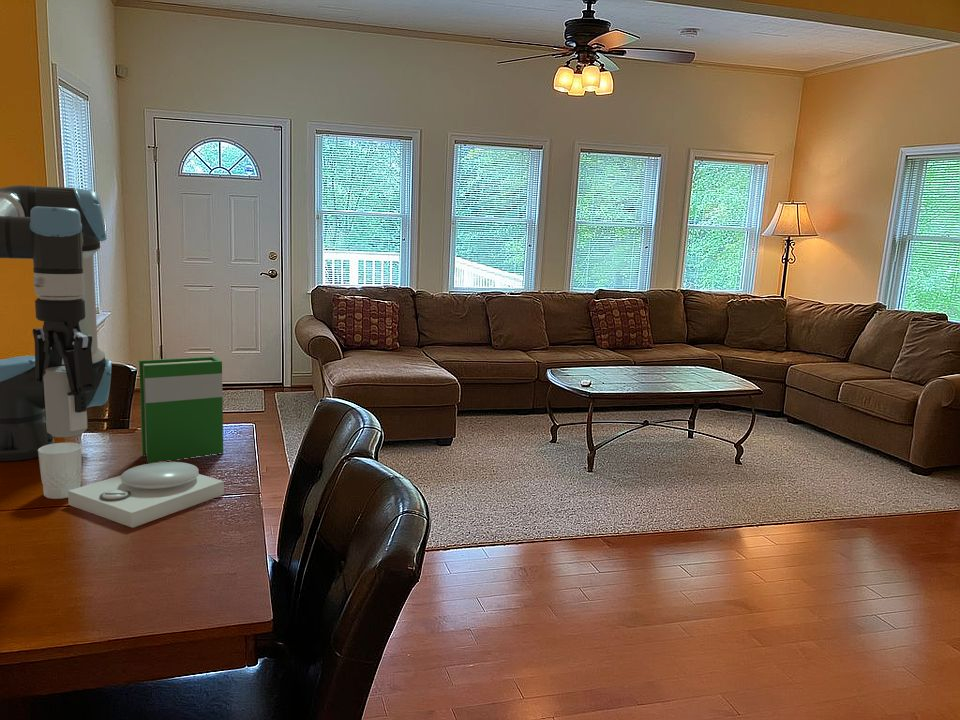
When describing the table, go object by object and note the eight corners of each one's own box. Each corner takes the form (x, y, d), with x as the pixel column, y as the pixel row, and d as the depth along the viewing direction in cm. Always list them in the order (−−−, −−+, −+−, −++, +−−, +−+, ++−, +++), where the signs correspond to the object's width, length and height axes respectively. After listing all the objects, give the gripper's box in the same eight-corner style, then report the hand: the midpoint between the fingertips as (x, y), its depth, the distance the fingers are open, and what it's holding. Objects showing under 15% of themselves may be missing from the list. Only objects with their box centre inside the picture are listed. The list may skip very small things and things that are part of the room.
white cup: (44, 503, 147) (41, 455, 146) (37, 491, 153) (34, 445, 151) (87, 495, 152) (85, 449, 151) (79, 484, 158) (77, 440, 156)
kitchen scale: (68, 504, 147) (67, 481, 146) (162, 475, 166) (161, 454, 165) (132, 527, 137) (131, 502, 137) (224, 494, 156) (223, 472, 156)
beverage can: (69, 440, 126) (66, 372, 124) (38, 436, 128) (33, 369, 125) (95, 430, 133) (92, 366, 130) (65, 427, 134) (61, 363, 132)
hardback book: (147, 464, 173) (144, 365, 169) (142, 455, 180) (139, 360, 175) (223, 454, 183) (221, 361, 179) (215, 446, 189) (214, 356, 185)
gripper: (6, 293, 127) (14, 421, 131) (72, 303, 118) (79, 440, 122) (48, 291, 134) (55, 413, 138) (114, 301, 125) (119, 430, 129)
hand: (66, 425), depth 130 cm, fingers closed on beverage can, 6 cm apart
